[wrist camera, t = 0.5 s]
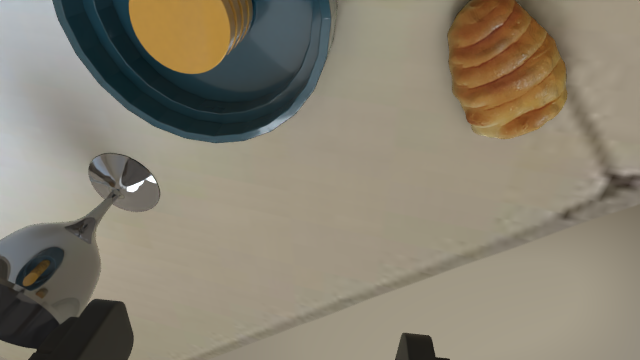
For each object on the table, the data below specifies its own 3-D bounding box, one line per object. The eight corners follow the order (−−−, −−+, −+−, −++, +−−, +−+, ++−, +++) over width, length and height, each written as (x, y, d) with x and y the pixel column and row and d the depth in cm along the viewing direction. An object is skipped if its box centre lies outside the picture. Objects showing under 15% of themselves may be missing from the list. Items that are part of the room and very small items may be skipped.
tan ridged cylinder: (207, -70, 24) (169, -63, 20) (272, 12, 26) (251, 34, 22) (151, -5, 26) (108, 13, 22) (215, 64, 29) (187, 92, 25)
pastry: (419, 28, 26) (424, 44, 23) (522, -37, 23) (544, -28, 20) (475, 133, 30) (486, 159, 27) (569, 89, 27) (593, 112, 24)
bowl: (198, -255, 19) (157, -291, 16) (388, 27, 26) (389, 47, 23) (47, -22, 27) (-5, -10, 24) (222, 150, 34) (204, 179, 30)
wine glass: (67, 163, 37) (-83, 288, 25) (128, 139, 35) (-7, 266, 23) (121, 221, 41) (14, 354, 29) (179, 204, 39) (87, 342, 26)
